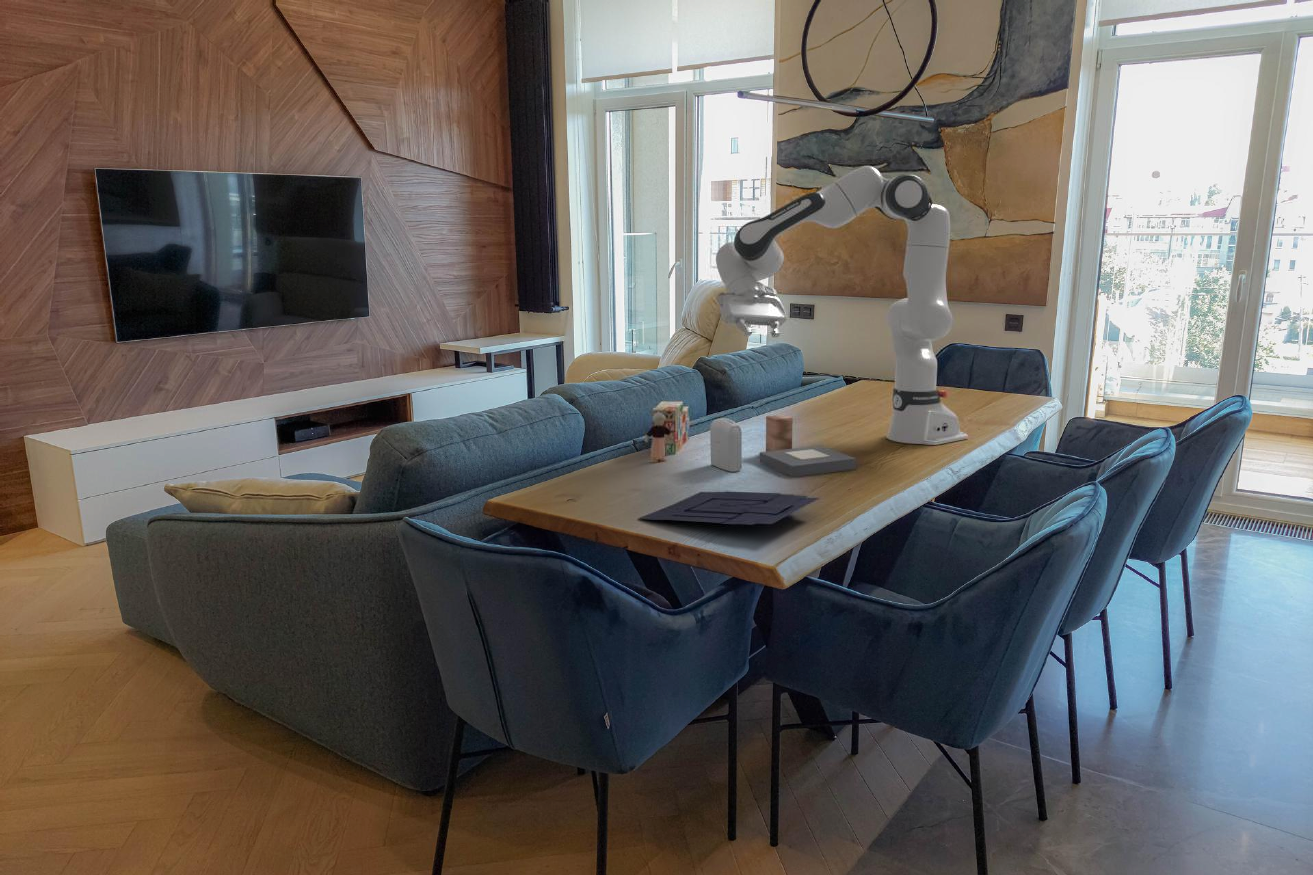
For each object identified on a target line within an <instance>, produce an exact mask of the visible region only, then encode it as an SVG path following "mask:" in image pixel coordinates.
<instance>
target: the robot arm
mask: <svg viewBox="0 0 1313 875" xmlns="http://www.w3.org/2000/svg"><path fill="white" fill-rule="evenodd" d="M871 208H875V209H876V210H878V211H879V212H880V213H881V214H882V215H883V216H885V217H887V218H888V219H891V220H904V221H905V224H906V226H907V238H906V239H907V240H906V246H905V255H904V261H903V262H904V263H903V272H902V275H903V278H904V281H905V283H906V293H907V297H904V298H901V299H899V300H896V301H895V302H894V303H892V304H891V305H890V307H889V309H888V310H887V312H886V321H887V322H886V323H887V325H888V326H889V329H890V333H891V338H892V345H893V349H894V350H893V352H894V359H895V360H894V361H895V371H894V372H895V373H894V388H893V389H892V415H891V419H890V420H891V421H890V425H889V428H888V432H887V435H886V439H888V440H889V441H893V442H898V443H903V444H917V445H928V446H936V445H937V446H938V445H942V444H946V443H952V442H957V441H962V440H968V438H969V437H968V435H969V434H967V433H966V432H962V431H961V430H960V420H959V418H958V416H957V415H956V414H955V413H954V412H953V411H952V410H951V409H949V408H948V407H947V406H946V405H945V404H943V403H942V402H941V398H942V399H947V398H948V397H949V395H950V394H949V393H948V391H947V390H943V389H942V390H938V389H937V377H938V376H937V374H938V359H937V357H936V355H935V353H934V349H933V344H932V342H933V341H937V340H940V339H943V338H944V337H946V336H947V335H948V334H949V333H950V332H951V329H952V328H953V322H954V320H953V318H954V317H953V314H952V312H951V310H950V307H949V304H948V293H947V283H946V282H947V280H946V279H947V267H948V258H949V252H950V242H951V240H950V239H951V217H950V212H949V210H948V209H947V208H946V207H944V206H942V205H939V204H936V203H933V200H932V197H931V195H930V193H929V190H928V188H927V185H926V184H925V182H924V180H923V179H921V177H919V176H917V175H915V174H910V173H906V174H905V173H903V174H901V175H900V174H899V175H898V176H895V177H893V178H891V179H887V178H885V177H883V175H882V173H881V172H880V171H879V169H877V168H875V167H873V166H871V165H862V166H861V167H859V168H856V169H855V170H852V171H850V172H848V173H847V174H844V175H843V176H842V177H839V178H838V179H837V180H836V181H834V182H832V183H831V184H829V185H828V186H826V187H824V188H822V189H820V190H818V191H815V192H808V193H807V194H803V195H802V196H799V197H798V198H796V199H794V200H792V201H790V202H788V203H787V204H785V205H783V206H781V207H779V208H778V209H776V210H774V211H772V212H771V213H769V214H767V215H765V216H763V217H760V218H757V219H755V220H751V221H749V222H746V223H745V224H743V225H741V227H740V228H739V229H738V231H736V234H735V236H734V241H730V242H727V243H725V244H723V245H722V246H721V247H720V248H719V249H718V250H717V252H716V255H715V263H716V268H717V272H718V274H719V277H720V279H721V281H722V283H723V284H724V286H725V290H726V292H723V291H722V292H719V293H717V295H716V297H715V298H716V301H717V303H718V310H719V313H720V317H721V319H722V321H723V322H724V323H725V324H726V325H727V324H730V325H731V324H732V325H736V327H737V328H738V329H739V330H740V331H742V333H743V336H744V337H751V335H753V330H752V327H748V325H750V326H765V327H766V326H767V327H770V328H771V329H772V331H771V332H770V335H771V336H772V338H779V337H780V335H781V333H780V330H779V328H780V327H782V326H783V324H785V322H786V321H787V320H788V314H787V311H786V309H785V307H784V305H783V303H782V301H781V300H780V298H779V297H777V295H778V293H777V290H776V289H775V288H773V287H770V286H768V285H765V284H763V283H762V282H760V281H762V280H765V279H768V278H770V277H772V276H774V275H776V274H778V272H779V271H781V269H782V267H783V266H784V262H785V256H784V252H783V250H782V249H781V248H780V246H779V244H778V243H777V241H776V238H778V237H780V236H781V235H783V234H784V233H786V232H788V231H790V230H792V229H794V228H795V227H797V226H798V225H800V224H802V223H807V222H812V223H817V224H818V225H820V226H822V227H825V228H829V229H837V228H841V227H843V226H845V225H846V224H849V223H850V222H851V221H852V220H855V218H857V217H858V216H860V215H861V214H863V213H864V212H866V211H867V210H869V209H871Z"/></svg>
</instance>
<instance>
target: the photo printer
mask: <svg viewBox="0 0 1313 875" xmlns="http://www.w3.org/2000/svg"><path fill="white" fill-rule="evenodd" d="M709 429H710V430H709V431H710V464H711V465H712V466H715V467H717V468H719V469H721V470H725V471H728V472H730V473H734V472H735V473H736V472H740V471H741V470H742V469H743V468H742V466H743V465H742V464H743V463H742V458H743V457H742V451H743V450H742V444H743V443H742V439H743V438H742V435H743V434H742V428H741V426H740V425H739V424H737V422H735V421H734V420H732V419H730V418H727V417H725V418H724V417H721V418H716V419H714V420H713V421H712V422H711V424H710V428H709Z"/></svg>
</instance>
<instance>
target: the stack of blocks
mask: <svg viewBox="0 0 1313 875" xmlns="http://www.w3.org/2000/svg"><path fill="white" fill-rule="evenodd" d="M658 412H659V413H662V414H663V415H664V416H665V421H664V423H663V425H662V426H665V427H667V428H668V429H669V430H670V431H671V434H672V436H673V438H672V439H669V436H668V435H666V434H665V435H664V436H665V455H677V454H678V453H679V451H680V450H681V449H682V448H683V446H684V445H685V443H687V442H688V440H689V439H690V409H689V406H684V402H683V401H664V400H663V401H660V403H659V404H657V406H655V407H653V409H652V417H653V416H654V414H655V413H658ZM653 426H656V425H655V424H654V421H653V420H652V427H653ZM683 444H684V445H683Z"/></svg>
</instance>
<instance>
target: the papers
mask: <svg viewBox="0 0 1313 875" xmlns="http://www.w3.org/2000/svg"><path fill="white" fill-rule="evenodd" d="M819 499H821V497H809V496H808V495H799V494H796V495H795V494H790V493H789V494H788V493H786V494H785V493H782V492H780V493H778V492H757V491H756V492H751V491H750V492H749V491H747V492H746V491H727V490H726V491H700V492H698V493H696V494H694V495H691V496H689V497H687V498H685V499H683V500H680V501H678V502H676V503H674V504H671V505H669V506H666V507H664V508H660V509H659V510H655V511H653V512H651V513H648V514H645V515H643V516H640V517H639V518H637V519H641V520H650V521H651V520H653V521H655V520H656V521H658V520H659V521H683V522H684V521H685V522H701V523H714V524H715V523H716V524H722V525H725V524H728V525H750V526H752V525H753V526H754V525H755V524H763V525H764V524H765V525H773V524H775V523H776V522H778V521H780V520H782V519H784V518H786V517H788V516H789V515H791V514H793V513H795V512H797V511H798V510H800V509H802V508H804V507H807V506H808V505H810V504H812V503H814V502H815V501H818V500H819Z"/></svg>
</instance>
